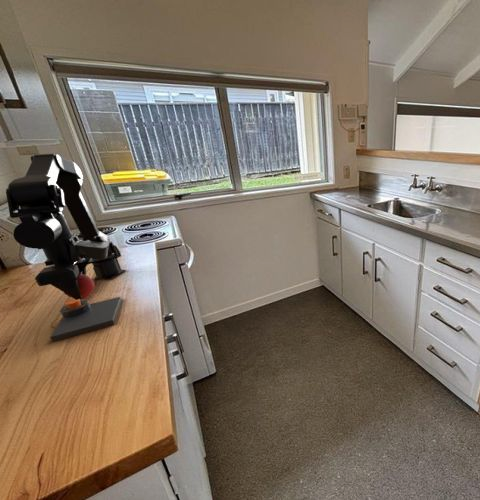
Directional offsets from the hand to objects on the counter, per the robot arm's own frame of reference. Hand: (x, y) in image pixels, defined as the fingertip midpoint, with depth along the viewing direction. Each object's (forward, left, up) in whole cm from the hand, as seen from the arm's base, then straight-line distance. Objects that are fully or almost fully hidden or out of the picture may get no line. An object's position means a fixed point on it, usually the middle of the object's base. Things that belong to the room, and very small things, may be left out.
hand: (81, 293), depth 72 cm
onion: (0, 0, -2) cm, 2 cm away
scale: (-1, -2, -8) cm, 9 cm away
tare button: (-2, -7, -6) cm, 10 cm away
